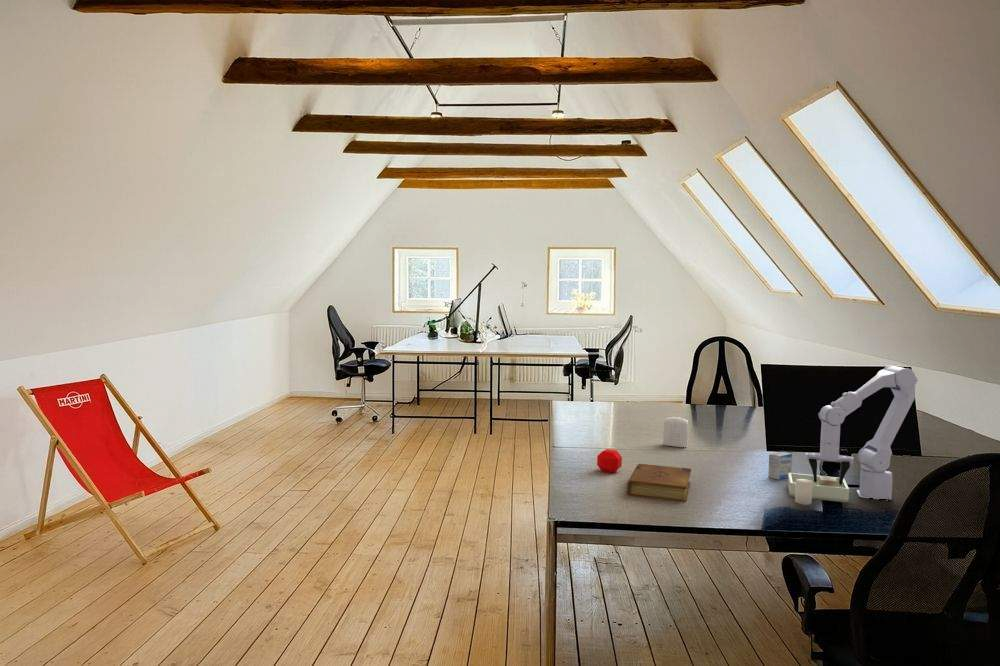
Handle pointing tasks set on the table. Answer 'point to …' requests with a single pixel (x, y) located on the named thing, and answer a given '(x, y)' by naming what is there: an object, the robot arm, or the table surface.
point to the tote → (820, 488)
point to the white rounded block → (676, 432)
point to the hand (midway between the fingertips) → (827, 482)
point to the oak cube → (827, 481)
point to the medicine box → (780, 465)
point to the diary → (659, 482)
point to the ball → (609, 460)
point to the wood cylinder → (803, 491)
